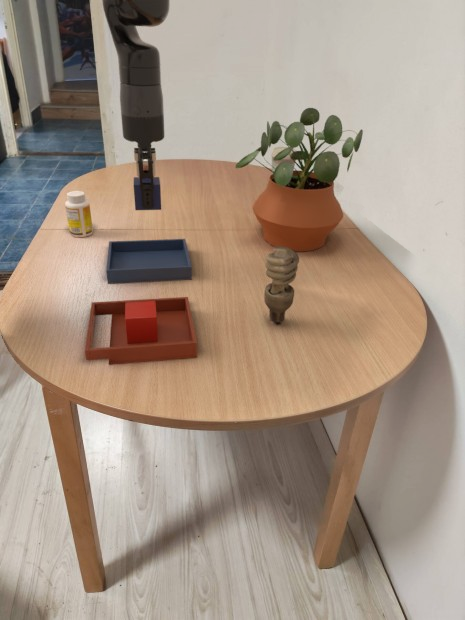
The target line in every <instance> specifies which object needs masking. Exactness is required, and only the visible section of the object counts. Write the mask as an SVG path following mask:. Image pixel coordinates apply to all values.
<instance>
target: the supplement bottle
mask: <svg viewBox="0 0 465 620" xmlns="http://www.w3.org/2000/svg"><path fill="white" fill-rule="evenodd" d="M85 195H86V194H85V192H84V191H82V190H72V191H68V192H67V193H66V199H67V200H66V201H65V202H64V206H65V207H64V208H65V213H66V218H67V226H68V231H69V234H70V235H71V236H72V237H75V238H85V237H89V236H91V235H92V234H93V232H94V227H93V220H92V219H93V218H92V213H91V212H92V211H91V205H90V201H89V200H88V199H86V196H85Z"/></svg>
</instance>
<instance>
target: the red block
mask: <svg viewBox="0 0 465 620" xmlns="http://www.w3.org/2000/svg"><path fill="white" fill-rule="evenodd" d="M125 324H126V334H127V343H142V342H156V341H158V334H157V316H156V303H155V301H145V302H127V303H125Z"/></svg>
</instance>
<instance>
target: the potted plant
mask: <svg viewBox="0 0 465 620" xmlns="http://www.w3.org/2000/svg"><path fill="white" fill-rule="evenodd" d="M320 117H321V116H320V112H319V110H318V109H317V108H315V107H308V108H305V109H303V111H301V114H300V118H299V121H294V122H292V123H290V124H289V125H288V126H286V125H283V124H281V123H280V122H279V120H275V121H273V122H272V123H271V125H270V122H269V121H268V120H267V121H266V131H263V132H262V133H261V139H260V147H258V148H257V149H255V150H254V151H252V152H250V153H248V154H247V155H245V156H243V157H242V158H241V159H240V160H239V161H238V162H237V163H236V164H235V169H241V168H244V167H247V166H248V165H250V164H251V163H252V162H253V161H254V160H255V161H256V162H257V163H259V164H260V165H261V166H263V167H264V168H265V169H267V170H268V171H269V172H271V174H270V175H269V177H268V183H267V184H266V185H267V186H266V188H265V189H264V190H263V191H262V192H261V193H260V194H259V195H258V197H257V198H256V200H255V201H254V203H253V205H252V211H253V213H254V216H255V218H256V220H257V222H258V223H259V225H260V226H261V227H262V230H263V231H262V232H263V239H264V241H265V242H266V243H267V244H269V245H271V246H273V247H274V248H275V247H278V246H282V247H287V248H290V249H292V250H293V251H295V252H311V251H315V250H318V249H320V248H322V247H323V246H324V245H325V243H326V239H327V237H328V235H329V234H330V233H331V232H332V231H334V230H335V229H336V228H337V227H338V225H339V224H340V223H341V221H342V220H343V218H344V212H343V209H342V207H341V204H340V202H339V200H338V198H337V197H336V195H335V190H334V189H335V182H334V181H335V180H336V179H337V178H338V176H339V172H340V166H341V165H340V164H341V162H340V157H339V153H336V152H335V151H331V150H327V149H329V148H330V147H331V146H334V145H335V144H337V143H338V142H340V141H342V139H341V138H342V136H343V133H344V132H345V130H343V124H342V121H341V118H339V116H337V115H335V114H331V115H329V116H328V117H327V119H326V120H325V123H324V127H323V130H322V131H319V132H316V133H315V124H316V123H318V122H319V121H320ZM305 126H307V127H309V126H312V133H311V132H308V131H307V129H306V127H305ZM282 127H283V128H284V129H285V131H284V136H283V128H282ZM349 131H350V132H352V130H350V129H347V130H346V132H349ZM354 133H355V134H356V136H355V138H353V137H351V136H349V137H347V138H346V139H344V143H343V144H342V147H341V156H342V158H344V159H348V158H349V160H348V163H347V167H346V170H347V173H349V170H350V167H351V162H352V160H353V156H354V152H355V153H358V152H359V149H360V146H361V143H362V139H363V133H364V131H363V129H360V130H359V131H358V133H357V132H356V131H354ZM282 136H283V138H284V141H285V142H284V141H283V140H282V139H281V138H282ZM305 136H306V137H307V138H308V141H309V151H308V149H307V147H306V145H305V144H304V143H303V140H304V137H305ZM279 141H281V142H282V143H284V144H285V145H286V147H288V148H286V149H284V150H282V151H281V152H279V153H278V154H277V155H276V156H275V157H274V159H273V160H274V161H277V160H281V159H283V158H285V157H286V156H287V155H288V154H289V153H290V152H291V151H292V152H293V153H292V154H291V155H290V154H289V155H290V158H291V159H293V161H294V162H295V166H297V167H298V168H299V169H300V170H297V169H296V168H295V166H294V167H293V165H292V164H291V163H290V162H282V163H280V164H279V165H278V166H277V167H276V169H275V168H274V167H273V166H272V165H271V168H272V167H273V168H274V169H275V171H274V172H273V171H272V169H270V168H269V167H267V166H266V165H265V164H263V163H261V162H260V161H259V160H257V159H256V157H257V156H258V155H259V153H260V154H261V156H262V157H263V159H264V160H265V162H266V163H267V164H268V165H270V163H269V162H268V161H267V160H266V158H265V157H264V156H266V153H267V152H268V150H269V148H271V146H272V145H276V144H277V143H279ZM319 141H323V142H321V143H320V144H319V145H318V142H319ZM324 144H328V145H329V146H327V147H326V148H325V149H323V150H322V151H321V152H320V153H318V154H317V152H318V151H319V150H320V149H321V147H322V146H323V145H324ZM317 145H318V146H317ZM298 147H299V149H300V150H296V151H295V152H294V151H293V149H295V148H298ZM326 150H327V151H326ZM353 151H354V152H353ZM316 154H317V155H316ZM315 155H316V156H315ZM314 156H315V157H314ZM295 160H296V161H295ZM297 162H298V163H297ZM303 163H304V164H303ZM293 168H294V170H293ZM272 173H274V174H272Z"/></svg>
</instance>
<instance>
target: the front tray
mask: <svg viewBox="0 0 465 620" xmlns="http://www.w3.org/2000/svg"><path fill="white" fill-rule="evenodd" d="M145 301H155V303H156V316H157V334H158V341H156V342H142V343H127V334H126V324H125V303H127V302H145ZM106 315H109V316H110V315H111V319H110V320H111V321H110V322H111V323H110V336H109V339H110V340H109V346H107V347H94V348H93V342H94V340H93V339H94V333H95V325H96V316H106ZM88 319H89V320H88V327H87V334H86V340H85V346H84V347H85V348H84V354H85V360H86V361H94V360H106V359H108V365H119V364H120V365H121V364H131V363H143V362H154V361H155V362H156V361H168V360H180V359H191V358H193V359H194V358H197V357H198V341H197V336H196V335H197V334H196V331H195V326H194V325H195V324H194V320H193V316H192V310H191V306H190V301H189V296H180V297H178V296H177V297H163V298H145V299H144V298H143V299H127V300H111V301H92V302H91V305H90V312H89V318H88Z"/></svg>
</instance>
